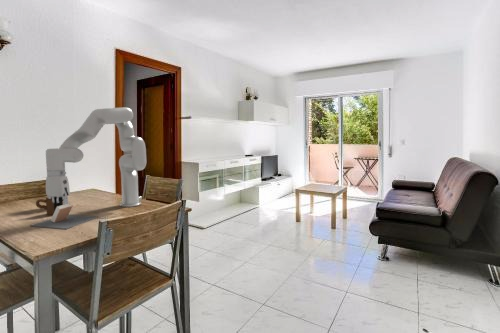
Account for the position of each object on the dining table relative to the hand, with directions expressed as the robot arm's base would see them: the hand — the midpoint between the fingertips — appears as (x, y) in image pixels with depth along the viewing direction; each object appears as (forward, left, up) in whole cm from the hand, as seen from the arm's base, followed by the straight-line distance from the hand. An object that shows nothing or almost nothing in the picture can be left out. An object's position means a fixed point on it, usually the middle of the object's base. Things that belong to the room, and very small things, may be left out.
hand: (58, 210), depth 141 cm
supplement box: (-24, -25, -6) cm, 35 cm away
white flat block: (0, 0, -5) cm, 5 cm away
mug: (-9, -15, -6) cm, 18 cm away
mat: (0, +4, -6) cm, 7 cm away
